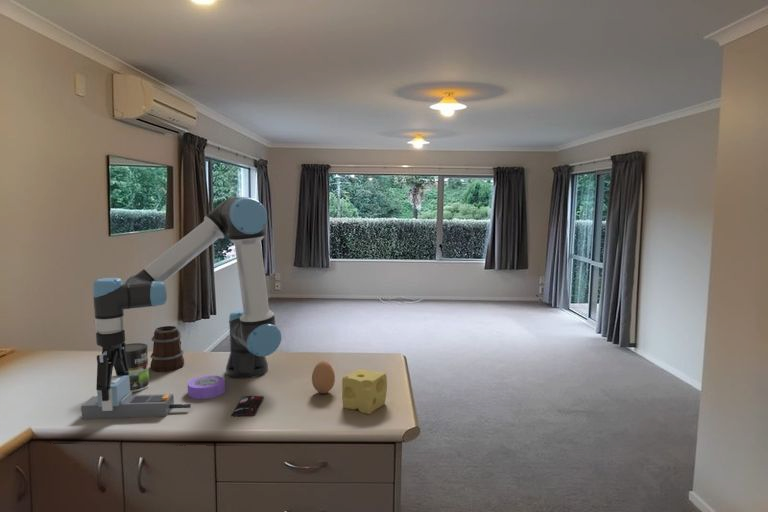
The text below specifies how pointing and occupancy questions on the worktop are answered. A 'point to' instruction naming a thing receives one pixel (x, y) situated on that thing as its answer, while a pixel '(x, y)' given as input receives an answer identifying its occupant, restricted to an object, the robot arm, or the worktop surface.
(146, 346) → the coffee can
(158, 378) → the worktop surface
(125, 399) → the power strip
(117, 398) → the block
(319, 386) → the egg
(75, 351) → the worktop surface
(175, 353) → the mug
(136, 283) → the robot arm
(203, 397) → the masking tape
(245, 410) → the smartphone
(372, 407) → the cheese
